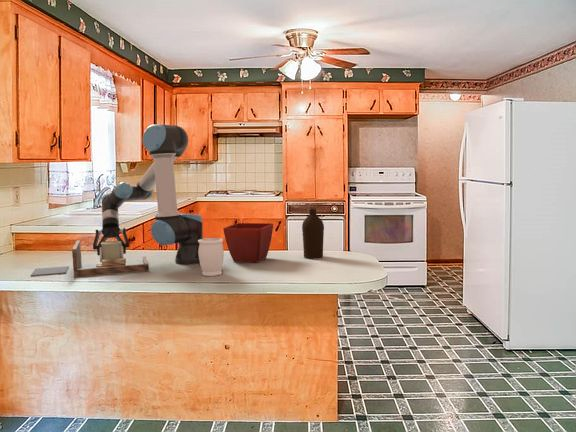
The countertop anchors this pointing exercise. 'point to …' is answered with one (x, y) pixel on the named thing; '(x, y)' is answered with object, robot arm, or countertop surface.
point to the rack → (102, 270)
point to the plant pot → (248, 241)
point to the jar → (211, 256)
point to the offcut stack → (112, 262)
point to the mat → (50, 271)
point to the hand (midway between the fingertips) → (111, 259)
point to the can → (111, 250)
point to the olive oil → (313, 235)
